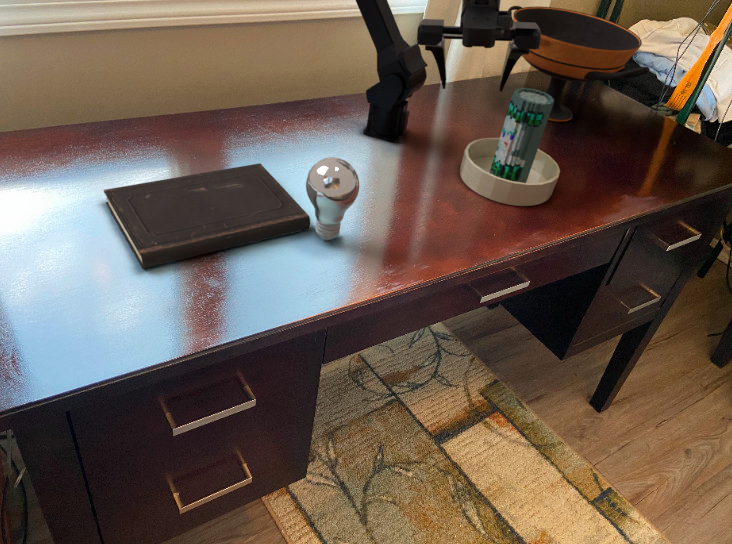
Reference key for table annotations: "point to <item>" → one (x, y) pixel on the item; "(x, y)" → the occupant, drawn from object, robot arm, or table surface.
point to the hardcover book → (203, 213)
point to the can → (521, 134)
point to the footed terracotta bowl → (577, 50)
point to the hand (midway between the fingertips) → (472, 89)
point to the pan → (501, 189)
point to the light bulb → (331, 194)
